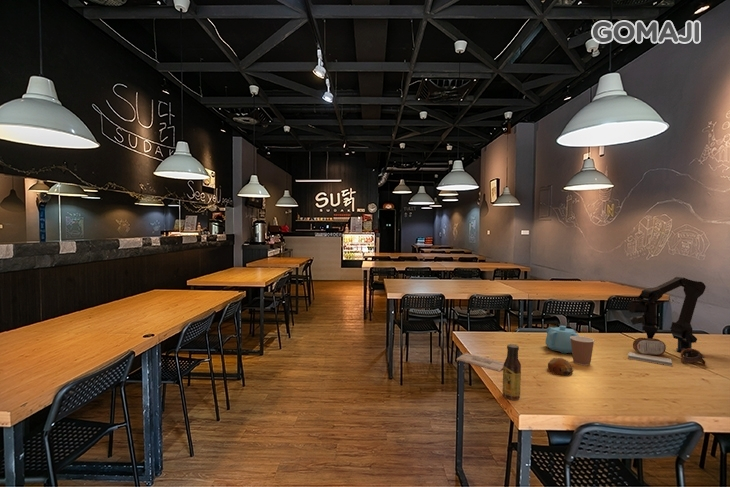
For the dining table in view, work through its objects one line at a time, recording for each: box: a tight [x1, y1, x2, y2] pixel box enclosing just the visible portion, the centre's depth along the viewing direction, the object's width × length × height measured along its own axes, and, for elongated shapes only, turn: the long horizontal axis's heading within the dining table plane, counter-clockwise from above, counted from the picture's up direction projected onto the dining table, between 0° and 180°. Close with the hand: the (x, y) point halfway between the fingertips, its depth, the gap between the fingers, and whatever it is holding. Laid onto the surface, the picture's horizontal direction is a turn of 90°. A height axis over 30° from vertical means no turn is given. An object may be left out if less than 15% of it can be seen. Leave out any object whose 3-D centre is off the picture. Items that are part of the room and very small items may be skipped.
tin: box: [632, 337, 667, 356], centre depth 184 cm, size 15×3×8 cm, turn 84°
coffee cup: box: [570, 335, 595, 366], centre depth 170 cm, size 10×10×12 cm
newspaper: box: [456, 352, 504, 373], centre depth 170 cm, size 23×12×2 cm, turn 46°
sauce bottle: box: [502, 343, 522, 401], centre depth 132 cm, size 7×6×20 cm
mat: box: [627, 351, 673, 367], centre depth 177 cm, size 12×17×1 cm
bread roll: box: [547, 357, 574, 377], centre depth 159 cm, size 10×10×8 cm
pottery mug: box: [680, 348, 707, 366], centre depth 172 cm, size 12×10×8 cm
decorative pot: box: [544, 325, 580, 355], centre depth 190 cm, size 16×16×14 cm
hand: (649, 341), depth 189 cm, fingers closed
